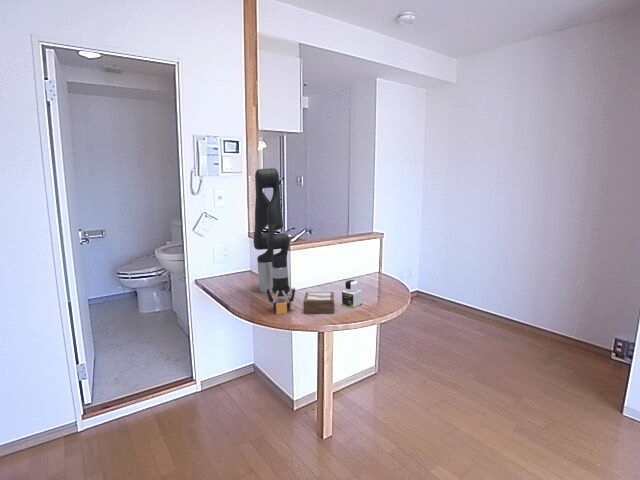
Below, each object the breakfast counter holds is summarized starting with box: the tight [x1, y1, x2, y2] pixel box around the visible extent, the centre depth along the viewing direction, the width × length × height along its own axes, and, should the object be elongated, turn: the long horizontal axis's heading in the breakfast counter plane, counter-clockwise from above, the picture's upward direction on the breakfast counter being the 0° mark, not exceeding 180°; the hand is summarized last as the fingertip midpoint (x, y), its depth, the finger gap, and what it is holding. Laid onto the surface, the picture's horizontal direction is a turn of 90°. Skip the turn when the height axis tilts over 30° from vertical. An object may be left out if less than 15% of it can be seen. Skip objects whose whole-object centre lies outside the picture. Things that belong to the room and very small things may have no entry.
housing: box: [275, 297, 288, 315], centre depth 180 cm, size 9×5×5 cm, turn 4°
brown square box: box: [303, 291, 335, 315], centre depth 181 cm, size 14×14×6 cm
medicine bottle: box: [341, 279, 363, 308], centre depth 185 cm, size 7×7×12 cm
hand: (282, 309), depth 181 cm, fingers closed on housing, 5 cm apart
